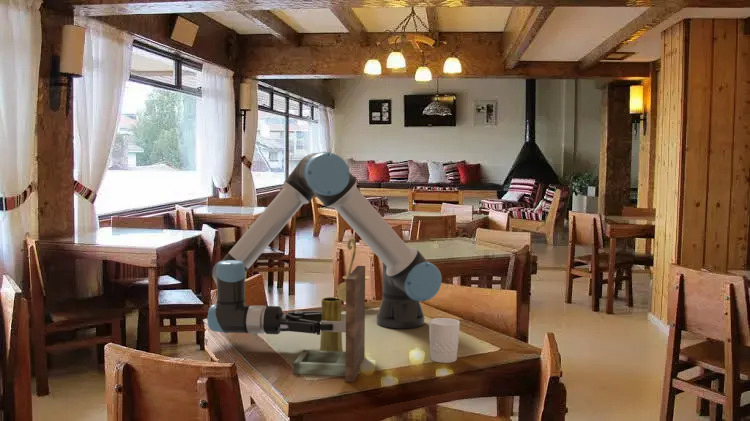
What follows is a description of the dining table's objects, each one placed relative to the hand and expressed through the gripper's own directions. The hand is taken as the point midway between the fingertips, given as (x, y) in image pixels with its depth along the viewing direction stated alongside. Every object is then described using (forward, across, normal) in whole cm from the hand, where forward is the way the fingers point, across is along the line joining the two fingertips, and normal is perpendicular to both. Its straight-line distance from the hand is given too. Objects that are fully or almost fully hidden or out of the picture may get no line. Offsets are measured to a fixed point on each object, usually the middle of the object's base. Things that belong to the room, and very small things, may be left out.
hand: (348, 322), depth 173 cm
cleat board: (-3, +14, -8) cm, 16 cm away
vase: (-5, 0, -8) cm, 9 cm away
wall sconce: (-6, -55, -8) cm, 56 cm away
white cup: (+25, +3, -8) cm, 27 cm away
